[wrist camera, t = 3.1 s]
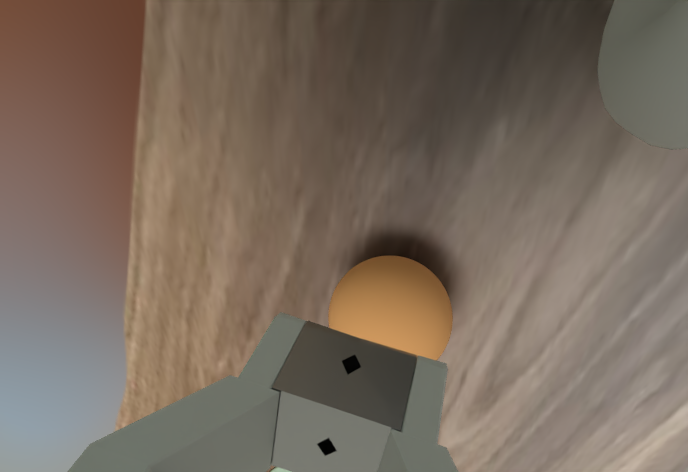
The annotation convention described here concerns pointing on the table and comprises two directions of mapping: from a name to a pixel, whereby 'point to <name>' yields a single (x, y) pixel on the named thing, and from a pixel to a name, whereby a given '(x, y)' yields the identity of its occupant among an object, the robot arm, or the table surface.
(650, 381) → the table surface
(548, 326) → the table surface
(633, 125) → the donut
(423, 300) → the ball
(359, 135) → the table surface
